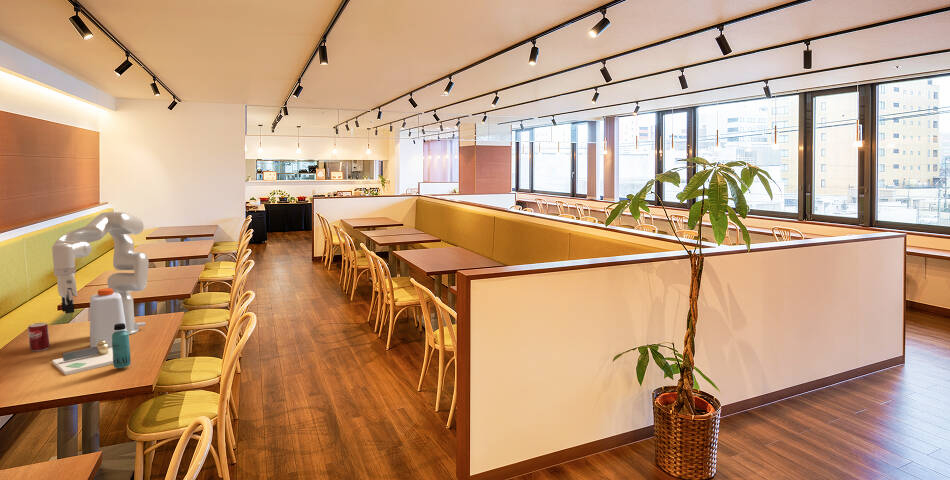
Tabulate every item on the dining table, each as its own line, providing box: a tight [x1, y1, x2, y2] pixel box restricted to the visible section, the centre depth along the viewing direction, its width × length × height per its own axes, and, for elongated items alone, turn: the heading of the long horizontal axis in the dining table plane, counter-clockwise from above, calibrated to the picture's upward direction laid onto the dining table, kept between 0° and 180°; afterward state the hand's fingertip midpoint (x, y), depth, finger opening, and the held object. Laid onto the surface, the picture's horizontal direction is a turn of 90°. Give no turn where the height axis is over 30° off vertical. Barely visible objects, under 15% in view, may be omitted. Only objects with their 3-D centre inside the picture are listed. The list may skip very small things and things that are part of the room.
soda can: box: [27, 322, 51, 352], centre depth 251 cm, size 7×7×12 cm
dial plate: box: [51, 347, 114, 376], centre depth 237 cm, size 23×20×2 cm
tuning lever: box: [62, 340, 108, 361], centre depth 238 cm, size 17×4×6 cm, turn 140°
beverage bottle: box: [112, 323, 132, 369], centre depth 229 cm, size 6×7×20 cm
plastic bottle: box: [89, 288, 127, 348], centre depth 256 cm, size 15×15×28 cm
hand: (68, 311), depth 236 cm, fingers open, 3 cm apart
